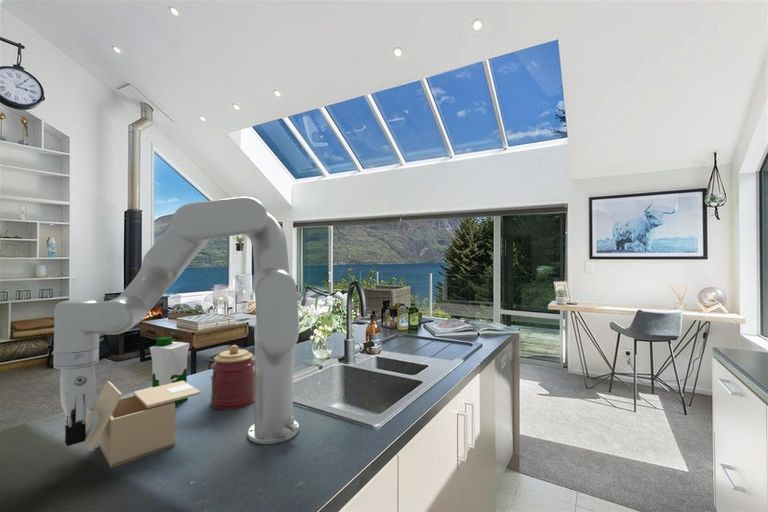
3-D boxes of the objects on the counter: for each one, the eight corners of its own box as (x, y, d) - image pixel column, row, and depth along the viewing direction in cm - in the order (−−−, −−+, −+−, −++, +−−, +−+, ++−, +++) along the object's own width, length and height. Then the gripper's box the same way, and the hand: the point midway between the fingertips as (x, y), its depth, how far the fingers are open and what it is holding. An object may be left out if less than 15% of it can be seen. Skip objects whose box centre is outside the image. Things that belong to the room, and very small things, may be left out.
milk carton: (168, 396, 118) (168, 334, 118) (192, 398, 116) (193, 336, 116) (145, 407, 109) (146, 340, 109) (171, 410, 107) (172, 342, 107)
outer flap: (122, 394, 80) (119, 393, 80) (92, 451, 76) (88, 450, 76) (110, 381, 88) (106, 380, 88) (82, 432, 84) (78, 431, 84)
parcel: (174, 446, 87) (175, 403, 87) (111, 468, 78) (111, 420, 78) (157, 428, 96) (157, 389, 96) (98, 446, 87) (98, 403, 87)
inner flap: (200, 394, 92) (200, 391, 92) (147, 407, 83) (147, 404, 83) (183, 382, 100) (183, 380, 100) (133, 394, 92) (133, 391, 92)
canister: (238, 412, 106) (238, 352, 106) (200, 407, 110) (201, 348, 110) (263, 396, 119) (264, 341, 119) (229, 392, 122) (230, 339, 122)
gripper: (106, 361, 77) (104, 448, 77) (92, 348, 87) (90, 425, 87) (58, 368, 71) (56, 463, 71) (49, 354, 81) (47, 436, 81)
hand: (75, 442), depth 79 cm, fingers closed
